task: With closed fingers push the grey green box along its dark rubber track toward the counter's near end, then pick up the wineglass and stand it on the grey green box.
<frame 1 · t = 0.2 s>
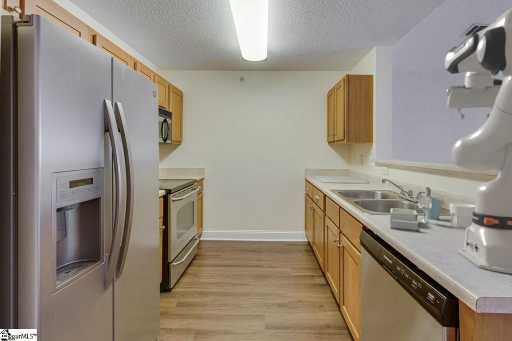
hand: (475, 118, 124), 48 cm above the countertop, fingers open, 8 cm apart
grey green box: (403, 216, 145), point 3 cm above the countertop, slide at 0.0 cm
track: (403, 224, 141), on the countertop
cup 2: (461, 226, 139), on the countertop
cup: (432, 218, 155), on the countertop
wineglass: (424, 222, 146), on the countertop
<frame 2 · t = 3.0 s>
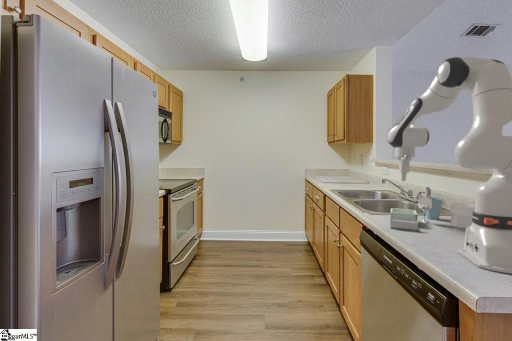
hand: (403, 180, 154), 19 cm above the countertop, fingers closed
nothing on the countertop moved.
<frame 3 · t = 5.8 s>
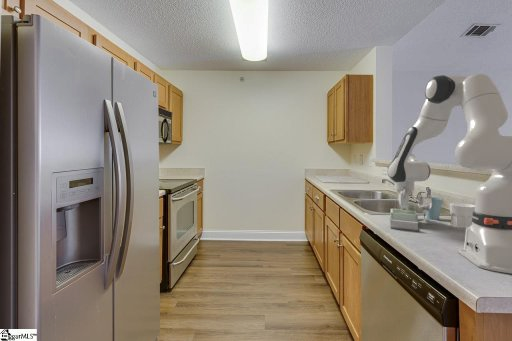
hand: (402, 214, 151), 3 cm above the countertop, fingers closed
grey green box: (403, 216, 144), point 3 cm above the countertop, slide at 1.4 cm, touching gripper
everything else where it was.
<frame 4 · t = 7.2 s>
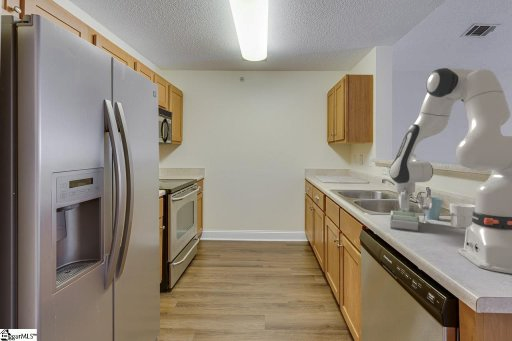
hand: (403, 215, 145), 3 cm above the countertop, fingers closed
grey green box: (403, 219, 138), point 3 cm above the countertop, slide at 7.3 cm, touching gripper
everything else where it was.
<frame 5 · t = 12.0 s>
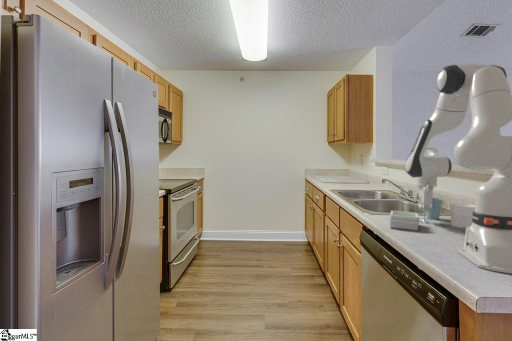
hand: (424, 210, 146), 6 cm above the countertop, fingers closed on wineglass, 5 cm apart
grey green box: (403, 219, 138), point 3 cm above the countertop, slide at 7.3 cm
wineglass: (424, 222, 146), on the countertop, touching gripper
everything else where it was.
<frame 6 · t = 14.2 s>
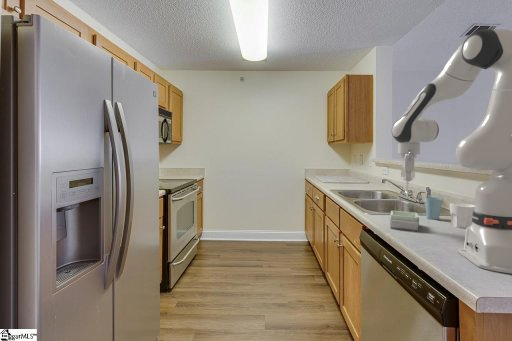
hand: (407, 180, 137), 21 cm above the countertop, fingers closed on wineglass, 5 cm apart
wineglass: (406, 194, 138), point 15 cm above the countertop, touching gripper
everything else where it was.
when the fingers open (10 cm above the countertop, at t = 16.9 s): wineglass drops 1 cm, resting on grey green box.
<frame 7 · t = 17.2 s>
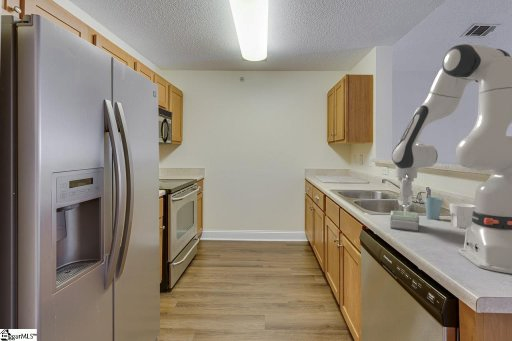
hand: (404, 203, 138), 10 cm above the countertop, fingers open, 8 cm apart
grey green box: (403, 219, 138), point 3 cm above the countertop, slide at 7.4 cm, touching wineglass
wineglass: (404, 219, 138), point 3 cm above the countertop, touching grey green box
everything else where it was.
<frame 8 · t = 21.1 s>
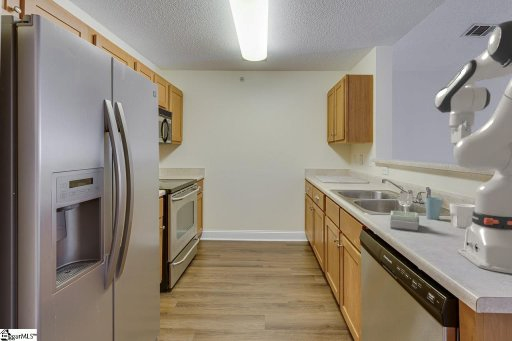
hand: (459, 154, 131), 33 cm above the countertop, fingers open, 8 cm apart
nothing on the countertop moved.
at the end: grey green box slide at 7.4 cm; wineglass inside the target area on the grey green box (0.6 cm from its centre), point 2.8 cm above the grey green box's base; wineglass tilted 0° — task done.
